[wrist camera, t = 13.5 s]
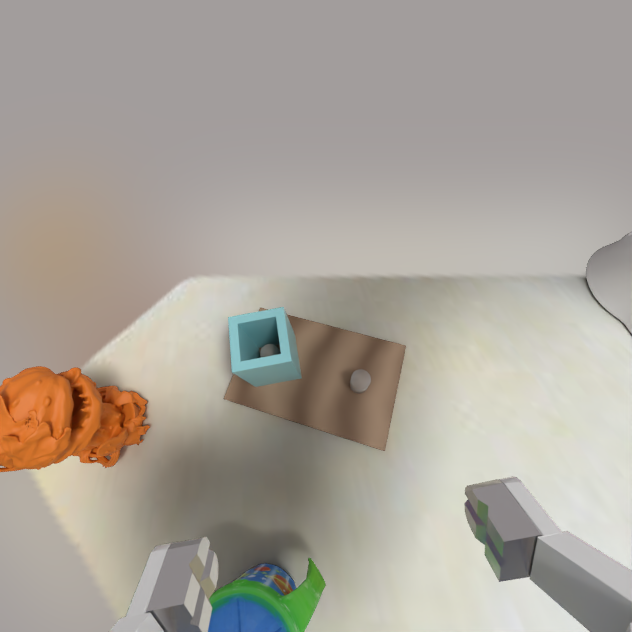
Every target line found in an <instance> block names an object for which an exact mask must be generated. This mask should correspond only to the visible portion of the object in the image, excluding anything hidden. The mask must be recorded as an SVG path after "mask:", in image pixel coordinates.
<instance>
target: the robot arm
mask: <svg viewBox="0 0 632 632" xmlns="http://www.w3.org/2000/svg"><path fill="white" fill-rule="evenodd" d="M586 277H587V282H588V285H589V287H590V289H591V291H592V293H593V295H594V296H595V298H596V299H597V300H598V302H599V303H600V304H601V305H602V306H603V307H604V308H605V309H606V310H607V311H609V312H610V313H611V314H613V315H614V316H615V317H617V318H618V319H619V320H621V321H622V322H623V323H624V324H625V325H626V327H627V328H628V329H629V331H630V332H631V333H632V232H630V233H628V234H627V235H625V236H624V237H623V238H622V239H621V240H619V241H617V242H615V243H612V244H610V245H607V246H605V247H603V248H601V249H599V250H597V251H596V252H595V253H594V254H593V255H592V256H591V258H590V259H589V261H588V264H587V269H586ZM465 495H466V496H467V498H468V500H467V501H466V502H465V514H466V517H467V521H468V523H469V526H470V528H471V530H472V532H473V534H474V536H475V538H476V539H478V540H479V541H480V542H482V543H483V544H484V545H485V556H486V558H487V560H488V562H489V564H490V566H491V568H492V569H493V571H494V573H495V575H496V577H497V579H498V580H499V582H501V581H507V580H513V579H519V578H526V577H530V580H532V581H533V582H534V583H535V584H536V585H537V586H538V587H540V588H541V589H542V590H543V591H544V592H545V593H546V594H548V595H549V596H550V597H551V598H552V599H553V600H554V601H556V602H557V603H558V604H559V605H560V606H561V607H562V608H564V609H565V610H566V611H567V612H568V613H569V614H570V615H572V616H573V617H574V618H575V619H576V620H577V621H578V622H580V623H581V624H582V625H583V626H584V627H585V628H586V629H588V630H589V631H590V632H632V570H630V569H628V568H627V567H625V566H623V565H622V564H620V563H619V562H617V561H615V560H614V559H612V558H610V557H609V556H607V555H606V554H604V553H602V552H601V551H599V550H597V549H596V548H594V547H593V546H591V545H589V544H588V543H586V542H584V541H583V540H581V539H580V538H578V537H576V536H575V535H573V534H571V533H570V532H568V531H564V532H562V531H561V530H560V529H559V527H558V526H557V525H556V524H555V522H554V521H553V520H552V519H551V517H550V516H549V515H548V514H547V513H546V511H545V510H544V509H543V508H542V506H541V505H540V504H539V503H538V501H537V500H536V499H535V498H534V496H533V495H532V494H531V493H530V492H529V490H528V489H527V488H526V487H525V485H524V484H523V483H522V482H521V480H519V479H518V478H517V477H508V478H504V479H499V480H497V479H496V480H492V481H487V482H482V483H478V484H473V485H469V486H467V487H466V488H465ZM209 546H210V542H209V540H208V538H207V537H201V538H196V539H190V540H185V541H180V542H173V543H168V544H163V545H158V546H155V548H154V549H153V550H152V552H151V553H150V556H149V558H148V561H147V563H146V566H145V568H144V571H143V573H142V576H141V578H140V581H139V584H138V586H137V589H136V591H135V594H134V596H133V599H132V601H131V604H130V606H129V609H128V611H127V614H126V616H125V617H122V618H120V619H119V620H118V621H117V622H116V624H115V625H114V626H113V627H112V628H111V630H110V631H109V632H208V627H209V622H210V617H211V612H212V606H211V603H210V600H209V598H210V597H211V595H212V594H213V592H214V591H215V589H216V586H217V580H218V559H217V556H216V554H215V552H214V551H212V550H210V549H209Z"/></svg>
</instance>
